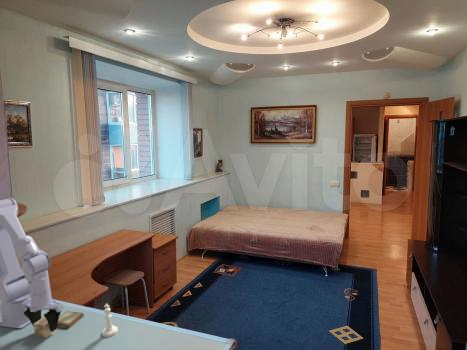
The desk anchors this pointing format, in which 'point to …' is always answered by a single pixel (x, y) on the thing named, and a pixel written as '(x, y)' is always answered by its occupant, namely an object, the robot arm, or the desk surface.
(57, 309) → the robot arm
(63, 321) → the brown framed square tile
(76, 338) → the desk surface
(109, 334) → the chess piece
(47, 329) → the birch cube
